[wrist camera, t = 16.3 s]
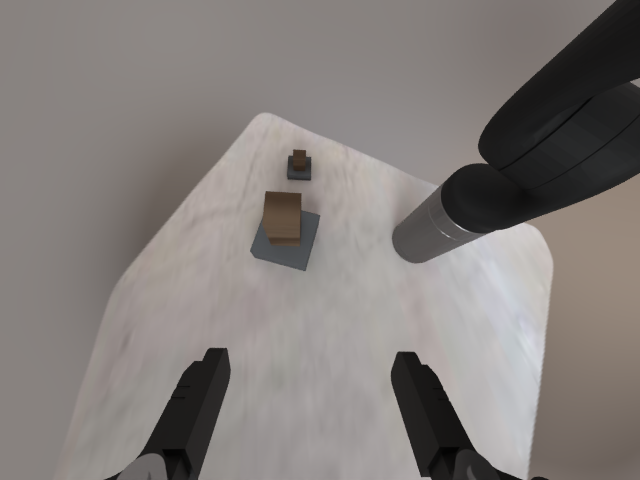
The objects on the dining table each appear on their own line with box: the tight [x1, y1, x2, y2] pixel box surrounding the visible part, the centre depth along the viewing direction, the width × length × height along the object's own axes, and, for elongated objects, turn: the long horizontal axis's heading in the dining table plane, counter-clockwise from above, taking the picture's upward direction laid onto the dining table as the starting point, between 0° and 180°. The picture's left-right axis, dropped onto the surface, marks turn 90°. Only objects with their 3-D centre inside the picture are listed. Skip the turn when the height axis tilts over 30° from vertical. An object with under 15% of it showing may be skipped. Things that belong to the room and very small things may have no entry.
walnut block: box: [262, 191, 301, 246], centre depth 36 cm, size 5×5×10 cm
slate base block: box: [250, 210, 320, 271], centre depth 43 cm, size 10×10×5 cm
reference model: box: [287, 150, 311, 180], centre depth 48 cm, size 5×5×5 cm
